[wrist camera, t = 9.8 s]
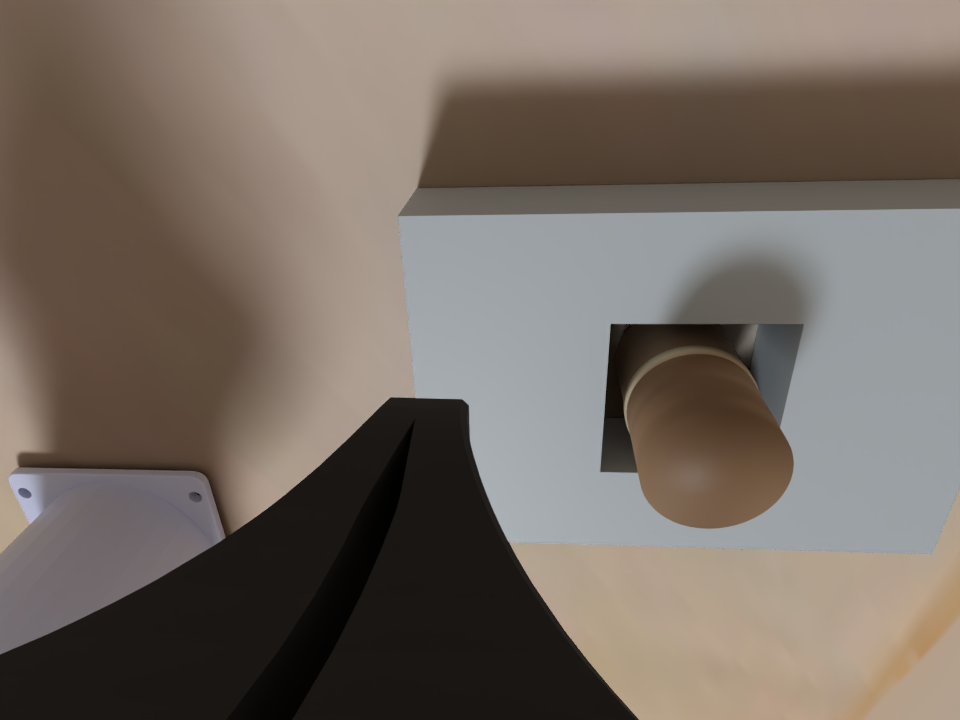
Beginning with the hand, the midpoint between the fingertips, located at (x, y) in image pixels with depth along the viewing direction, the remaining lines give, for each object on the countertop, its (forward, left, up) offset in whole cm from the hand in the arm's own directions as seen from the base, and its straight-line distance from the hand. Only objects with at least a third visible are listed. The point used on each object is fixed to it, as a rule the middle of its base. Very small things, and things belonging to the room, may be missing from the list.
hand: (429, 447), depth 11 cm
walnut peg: (-3, -6, -10) cm, 12 cm away
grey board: (-3, -6, -10) cm, 12 cm away
